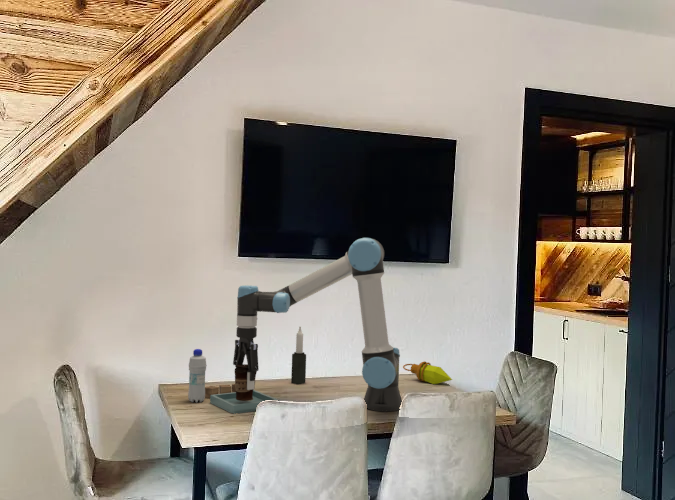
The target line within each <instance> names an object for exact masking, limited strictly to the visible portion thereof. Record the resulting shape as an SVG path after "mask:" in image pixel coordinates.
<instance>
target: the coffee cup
mask: <svg viewBox="0 0 675 500" xmlns="http://www.w3.org/2000/svg"><path fill="white" fill-rule="evenodd" d="M248 370H249V369H248V363H247V364H245V363H243V365H237V367H235V368H234V384H235V390H236V400H239V401H252V400H253V397H252V395H253V390H255V386H256V383H255V384H254V389H252V390H247V371H248ZM257 372H258V371H256V372H255V378H256V376H257Z"/></svg>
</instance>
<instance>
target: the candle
mask: <svg viewBox="0 0 675 500" xmlns="http://www.w3.org/2000/svg"><path fill="white" fill-rule="evenodd" d="M298 327H299V329H298V331H297V333H296V335H295V336H296V338H295V339H296V341H295V342H296V343H295V346H296V347H295V351H294V352H293V353H292V355H291V374H290V375H291V379H290V381H291V384H294V385H304V384H306V378H307V377H306V375H307V372H306V371H307V366H306V365H307V354H306V353H305V352H304V350H303V349H304V333H303V331H302V326H298Z"/></svg>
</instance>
